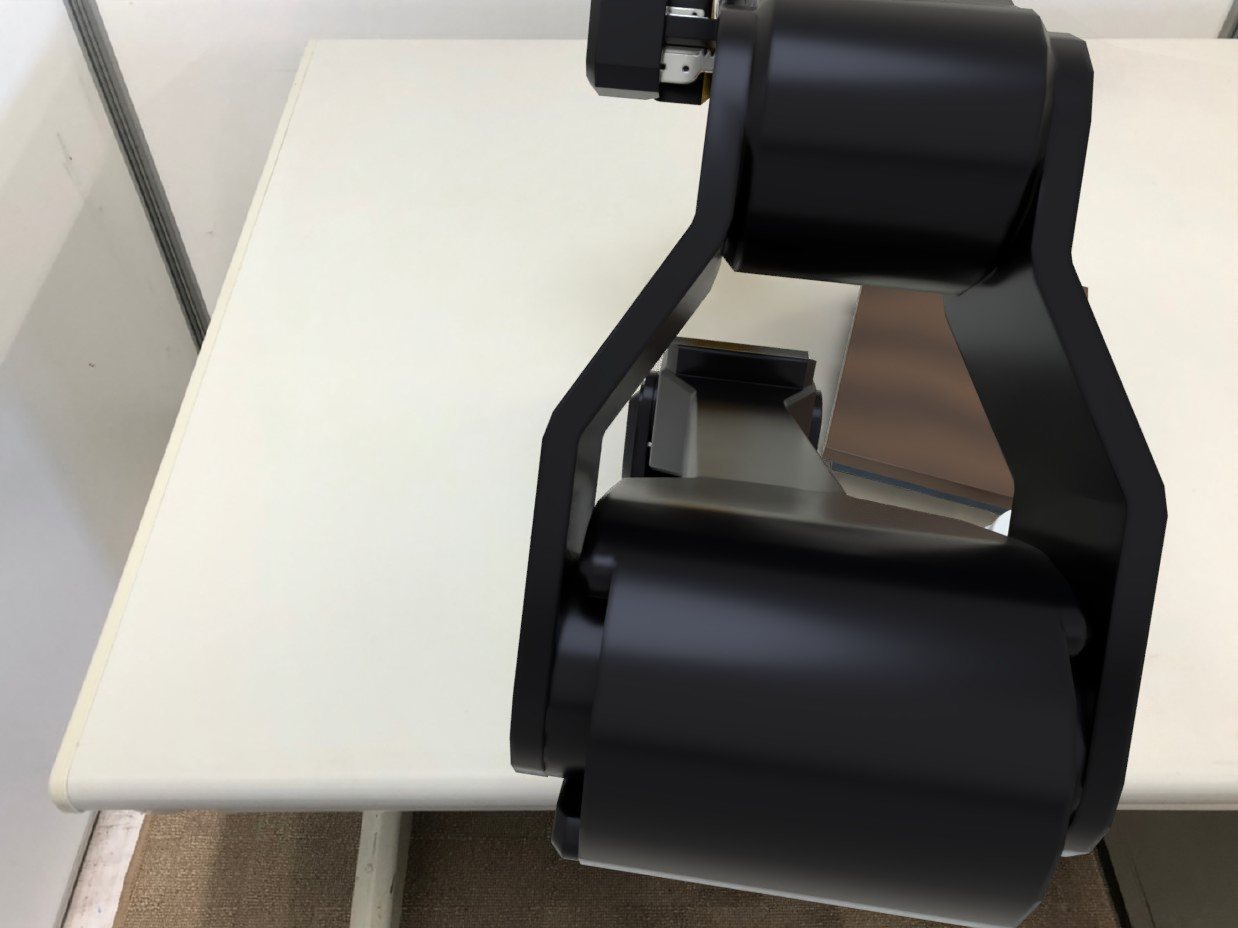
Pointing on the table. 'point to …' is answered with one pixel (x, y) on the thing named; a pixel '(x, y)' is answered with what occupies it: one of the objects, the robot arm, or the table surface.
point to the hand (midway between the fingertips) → (757, 85)
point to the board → (913, 406)
